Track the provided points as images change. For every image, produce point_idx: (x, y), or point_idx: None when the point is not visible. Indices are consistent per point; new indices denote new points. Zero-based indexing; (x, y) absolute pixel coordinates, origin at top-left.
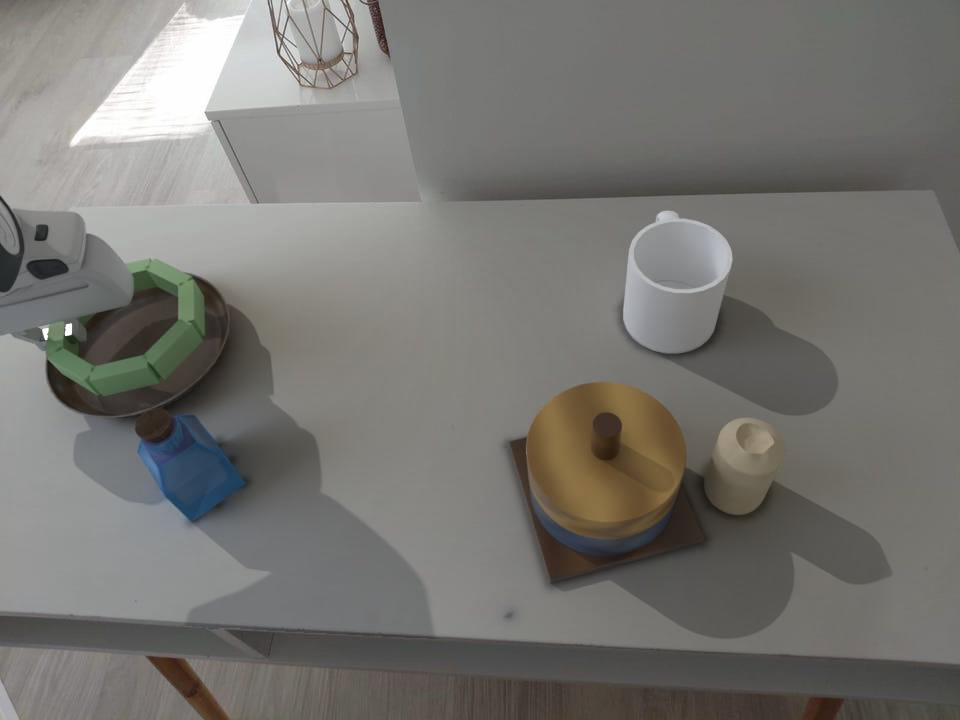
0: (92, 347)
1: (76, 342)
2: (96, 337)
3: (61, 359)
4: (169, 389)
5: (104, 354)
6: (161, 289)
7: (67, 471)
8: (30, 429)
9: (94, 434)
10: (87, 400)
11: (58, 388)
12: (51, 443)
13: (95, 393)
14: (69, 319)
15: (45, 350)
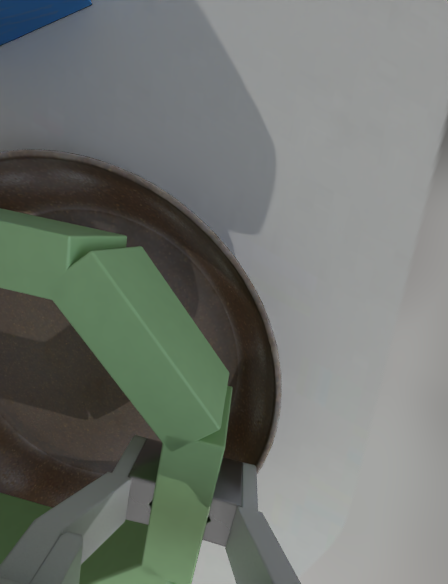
0: None
1: (155, 443)
2: None
3: (169, 396)
4: None
5: None
6: (54, 477)
7: (298, 147)
8: (351, 303)
9: (227, 220)
10: (220, 304)
11: (263, 352)
12: (317, 244)
13: (139, 249)
14: (36, 562)
15: (246, 464)
